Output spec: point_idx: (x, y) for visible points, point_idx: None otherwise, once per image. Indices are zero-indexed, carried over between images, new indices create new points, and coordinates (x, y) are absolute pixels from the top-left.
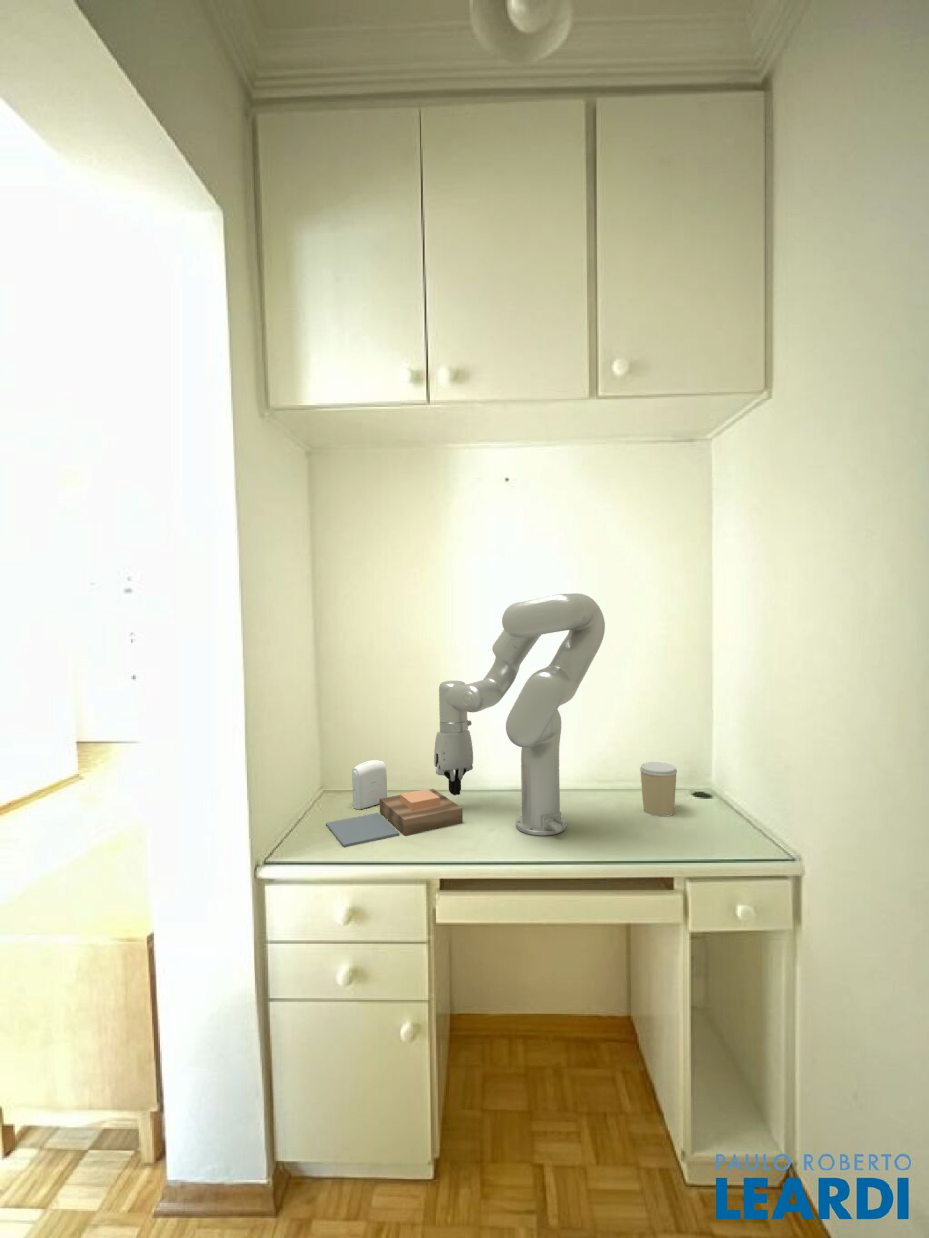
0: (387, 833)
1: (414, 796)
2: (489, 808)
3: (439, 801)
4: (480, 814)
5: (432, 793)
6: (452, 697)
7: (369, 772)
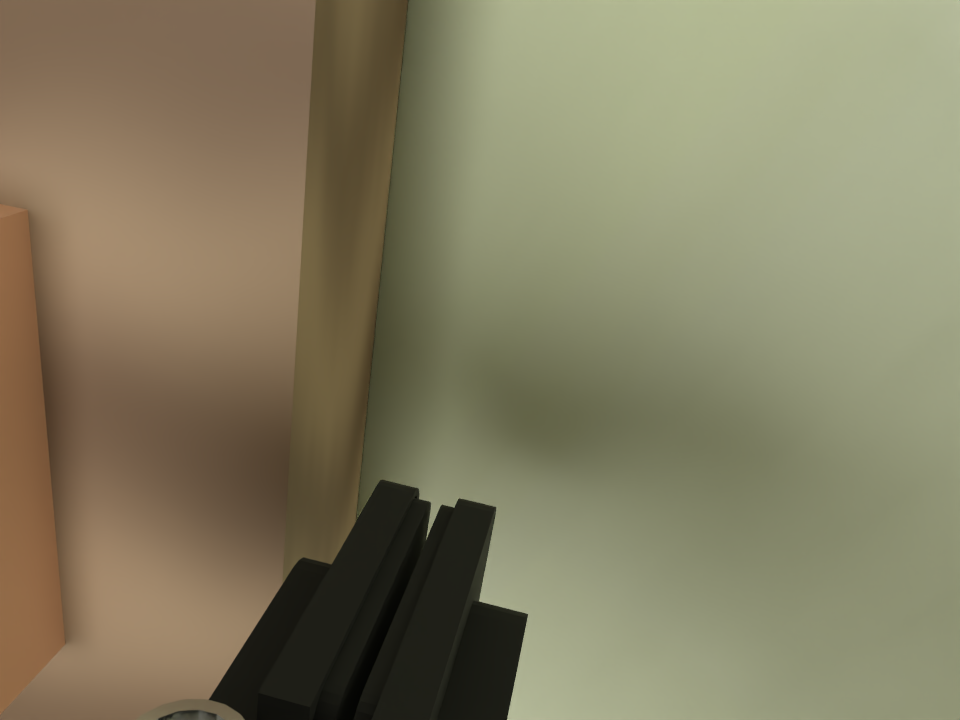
0: None
1: None
2: (902, 657)
3: (21, 683)
4: (653, 700)
5: None
6: None
7: None
